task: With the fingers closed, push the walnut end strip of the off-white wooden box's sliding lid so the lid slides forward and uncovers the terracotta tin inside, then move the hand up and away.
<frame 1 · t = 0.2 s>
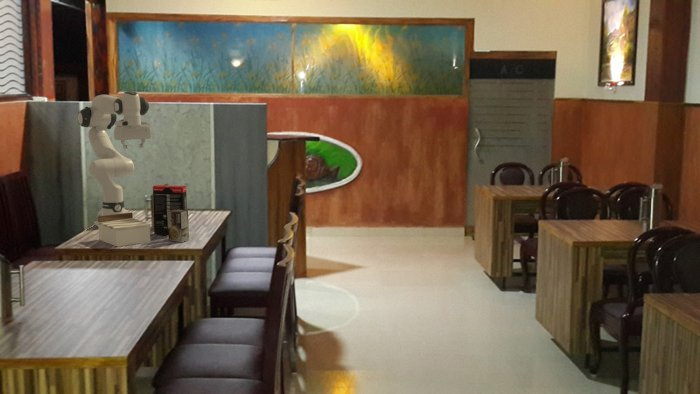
hand: (133, 147, 397), 47 cm above the table, tool pointing down, fingers open, 8 cm apart
coffee box: (178, 241, 386), on the table
graphics card box: (171, 235, 401), on the table
box lid: (123, 220, 381), point 11 cm above the table, slide at 0.0 cm
tea tin: (121, 239, 385), resting on gift box base
gift box base: (124, 242, 382), on the table
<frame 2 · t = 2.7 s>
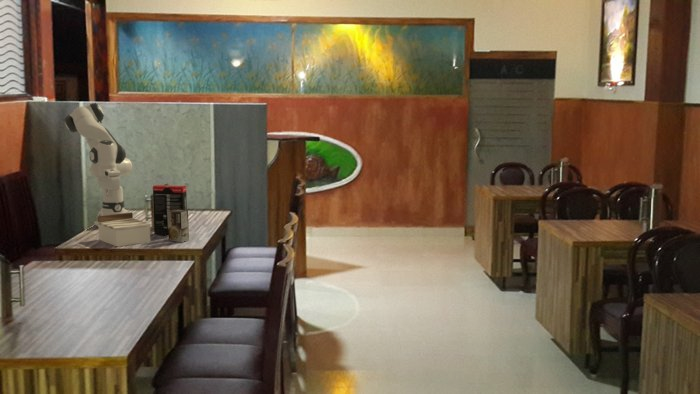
hand: (109, 197, 392), 22 cm above the table, tool pointing down, fingers closed
nothing on the table moved.
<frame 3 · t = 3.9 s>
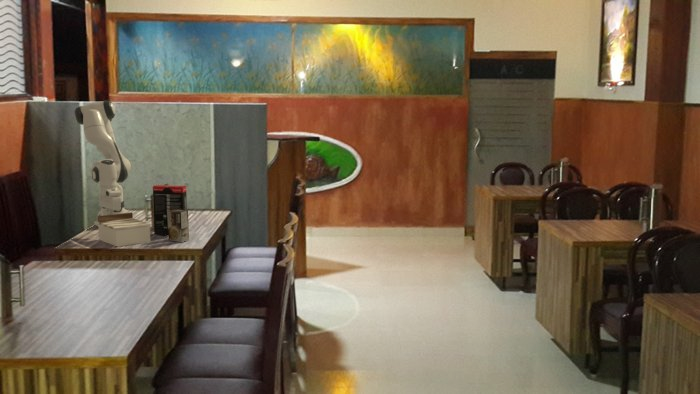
hand: (110, 216, 393), 11 cm above the table, tool pointing down, fingers closed
nothing on the table moved.
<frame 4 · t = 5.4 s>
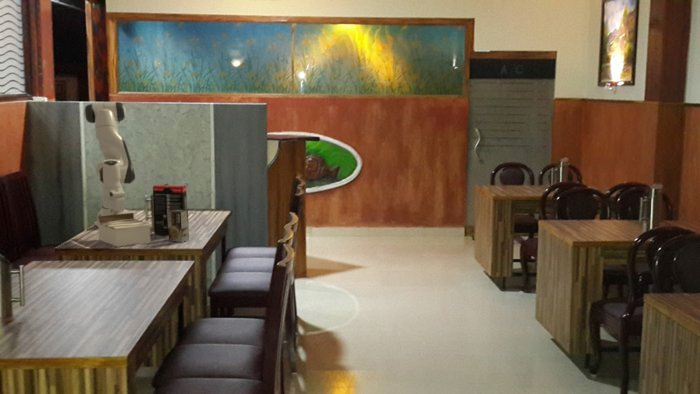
hand: (114, 217, 389), 11 cm above the table, tool pointing down, fingers closed
box lid: (124, 221, 380), point 11 cm above the table, slide at 1.3 cm, touching gripper
everything else where it was.
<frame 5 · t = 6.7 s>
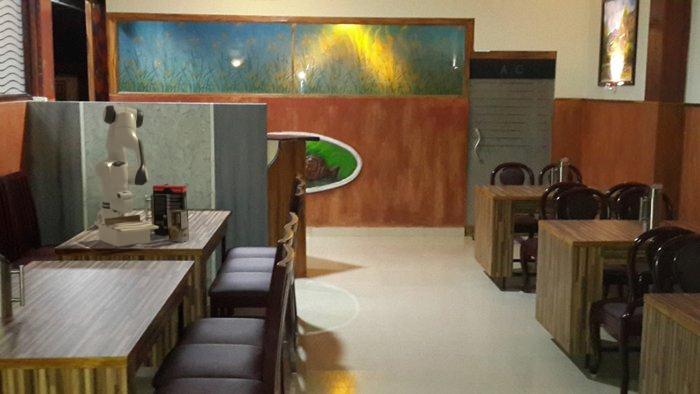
hand: (121, 219, 384), 11 cm above the table, tool pointing down, fingers closed
box lid: (131, 223, 374), point 11 cm above the table, slide at 9.1 cm, touching gripper
everything else where it was.
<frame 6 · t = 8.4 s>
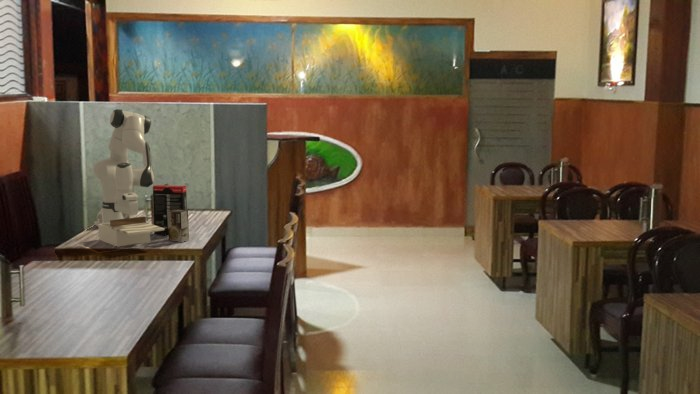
hand: (126, 221, 379), 11 cm above the table, tool pointing down, fingers closed
box lid: (137, 225, 369), point 11 cm above the table, slide at 15.6 cm, touching gripper
everything else where it was.
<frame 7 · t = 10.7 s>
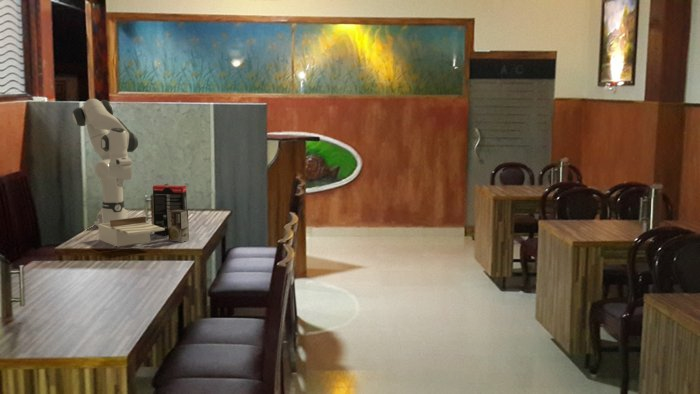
hand: (120, 186, 380), 29 cm above the table, tool pointing down, fingers closed
box lid: (137, 225, 369), point 11 cm above the table, slide at 15.7 cm
everything else where it was.
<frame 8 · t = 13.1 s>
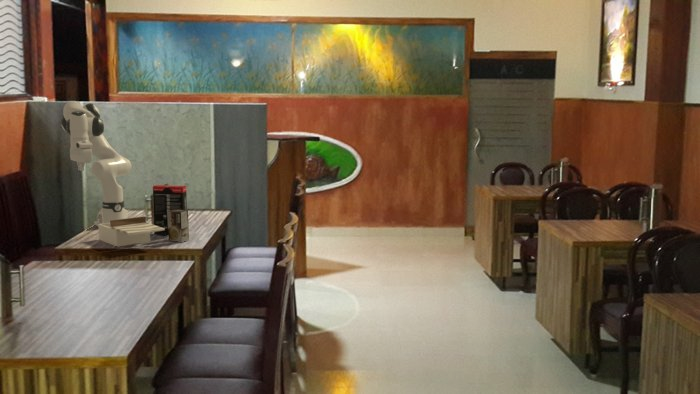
hand: (81, 170, 378), 37 cm above the table, tool pointing down, fingers closed
nothing on the table moved.
at the end: box lid slide at 15.7 cm; the gripper is holding nothing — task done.
